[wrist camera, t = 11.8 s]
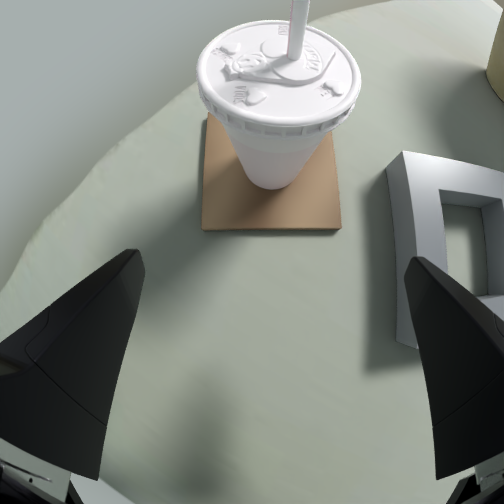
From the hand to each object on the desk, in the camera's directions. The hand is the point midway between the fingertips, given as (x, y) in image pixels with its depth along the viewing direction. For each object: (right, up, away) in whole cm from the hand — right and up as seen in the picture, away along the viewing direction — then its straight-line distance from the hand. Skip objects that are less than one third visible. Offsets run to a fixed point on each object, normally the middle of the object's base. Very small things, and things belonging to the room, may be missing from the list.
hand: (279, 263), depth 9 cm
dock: (+15, 0, +9) cm, 18 cm away
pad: (0, +6, +10) cm, 12 cm away
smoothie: (0, +6, +10) cm, 12 cm away
